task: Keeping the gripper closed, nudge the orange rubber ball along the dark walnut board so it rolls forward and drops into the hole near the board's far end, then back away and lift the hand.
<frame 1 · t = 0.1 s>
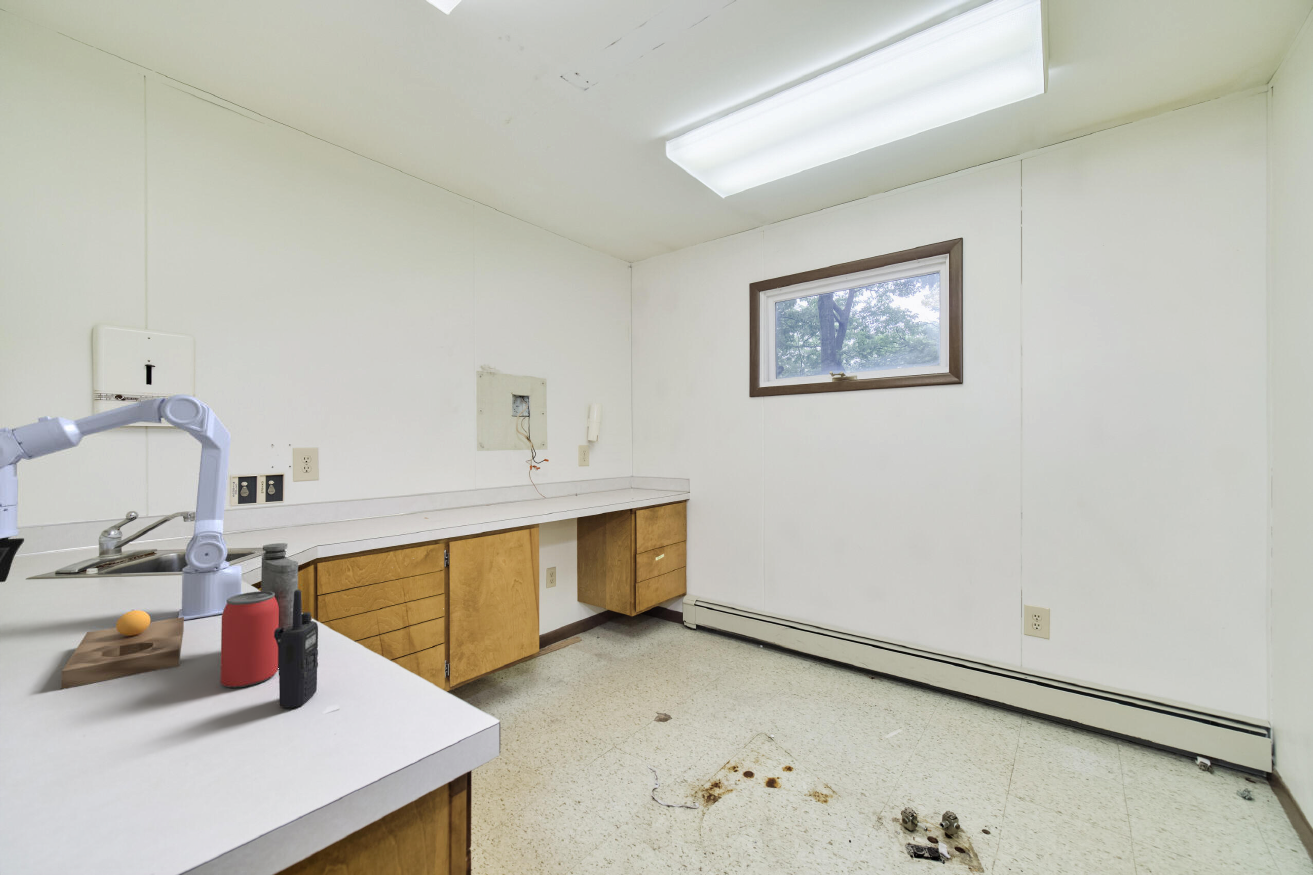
hole board: (130, 655, 83), on the worktop
ball: (133, 622, 86), point 4 cm above the worktop, touching hole board
flask: (275, 656, 84), on the worktop
two-way radio: (293, 702, 69), on the worktop
beer can: (249, 680, 75), on the worktop
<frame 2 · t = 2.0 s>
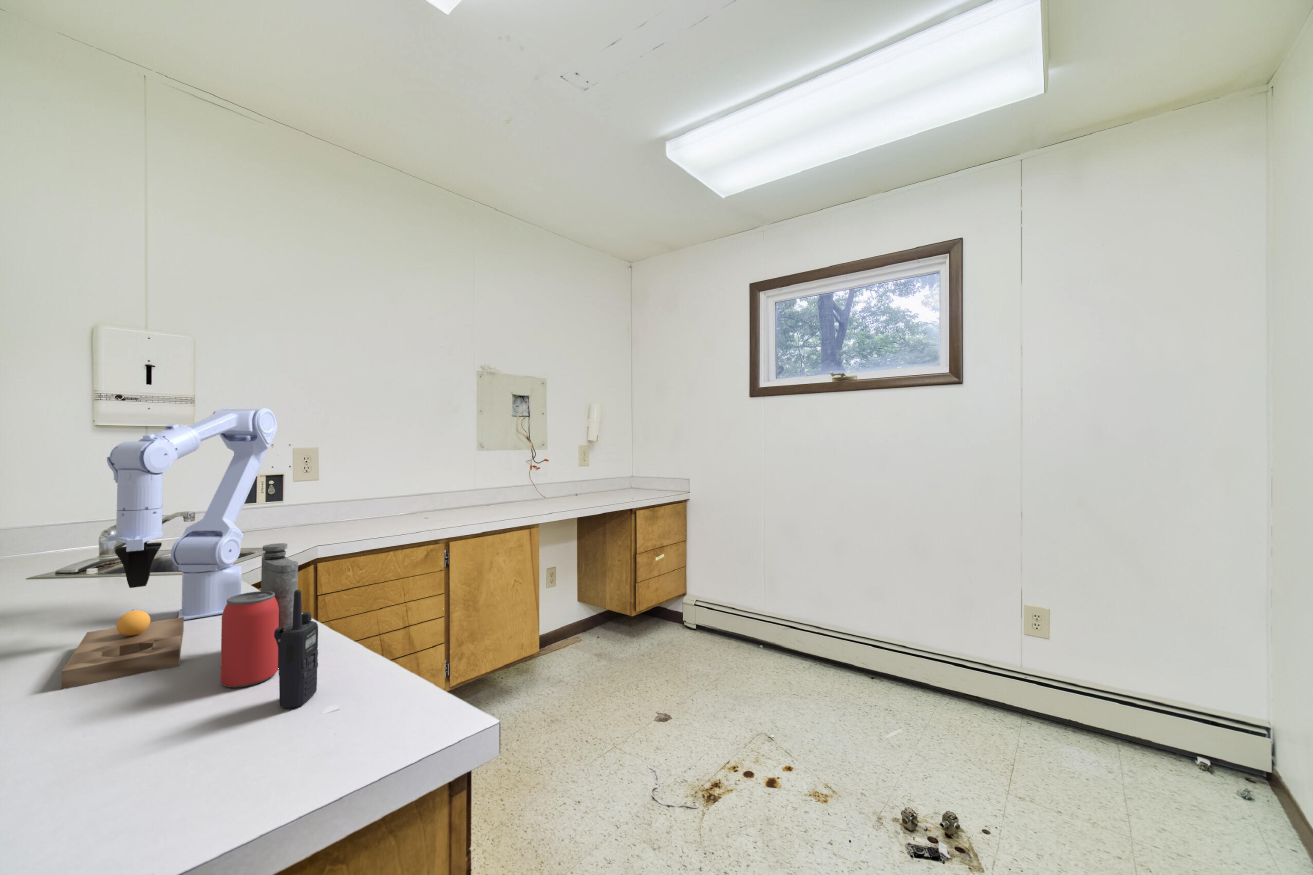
hand: (138, 586, 91), 9 cm above the worktop, tool pointing down, fingers closed
nothing on the worktop moved.
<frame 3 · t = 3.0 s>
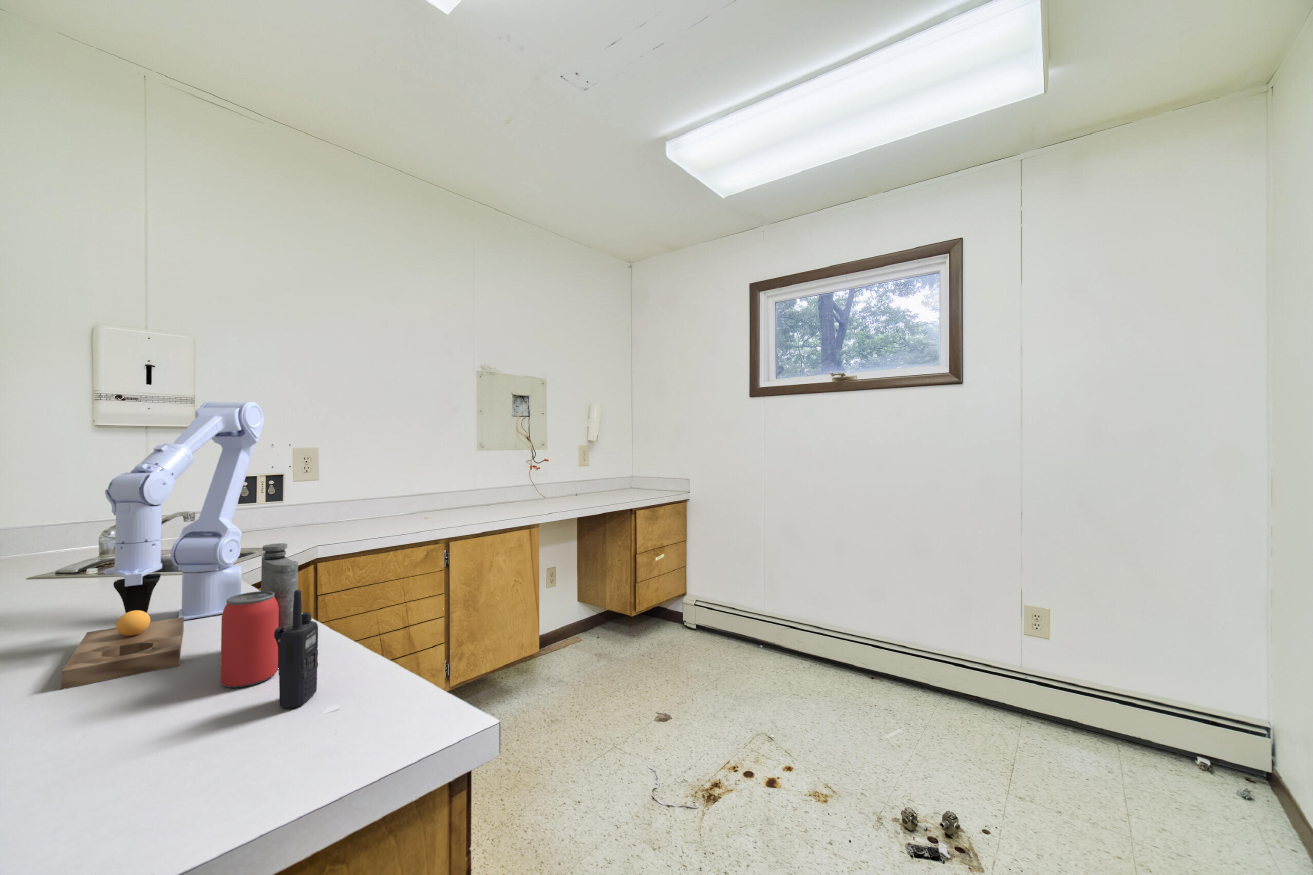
hand: (137, 619, 90), 4 cm above the worktop, tool pointing down, fingers closed
nothing on the worktop moved.
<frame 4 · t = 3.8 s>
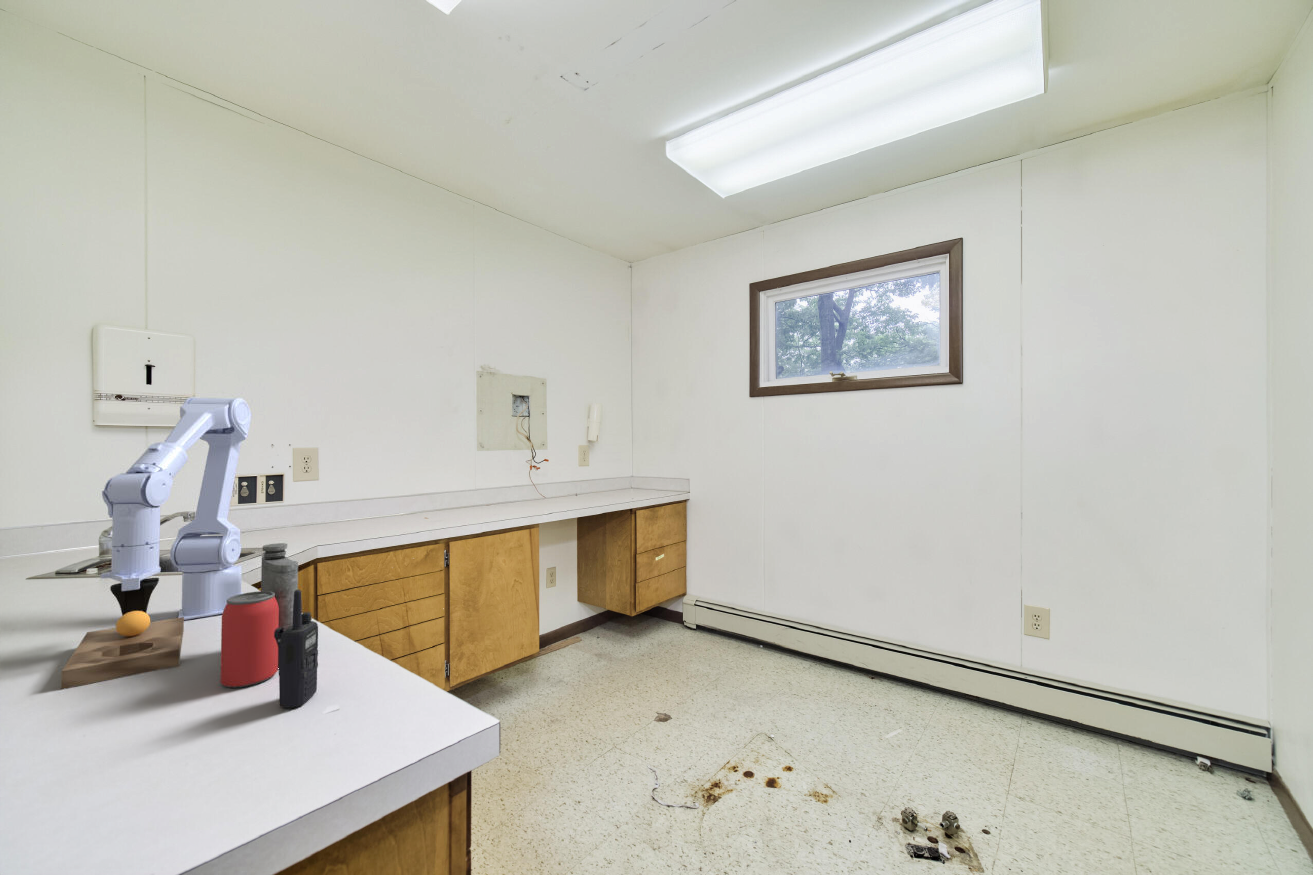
hand: (134, 624, 87), 4 cm above the worktop, tool pointing down, fingers closed, pressing on ball
ball: (133, 623, 85), point 4 cm above the worktop, touching gripper, hole board
everything else where it was.
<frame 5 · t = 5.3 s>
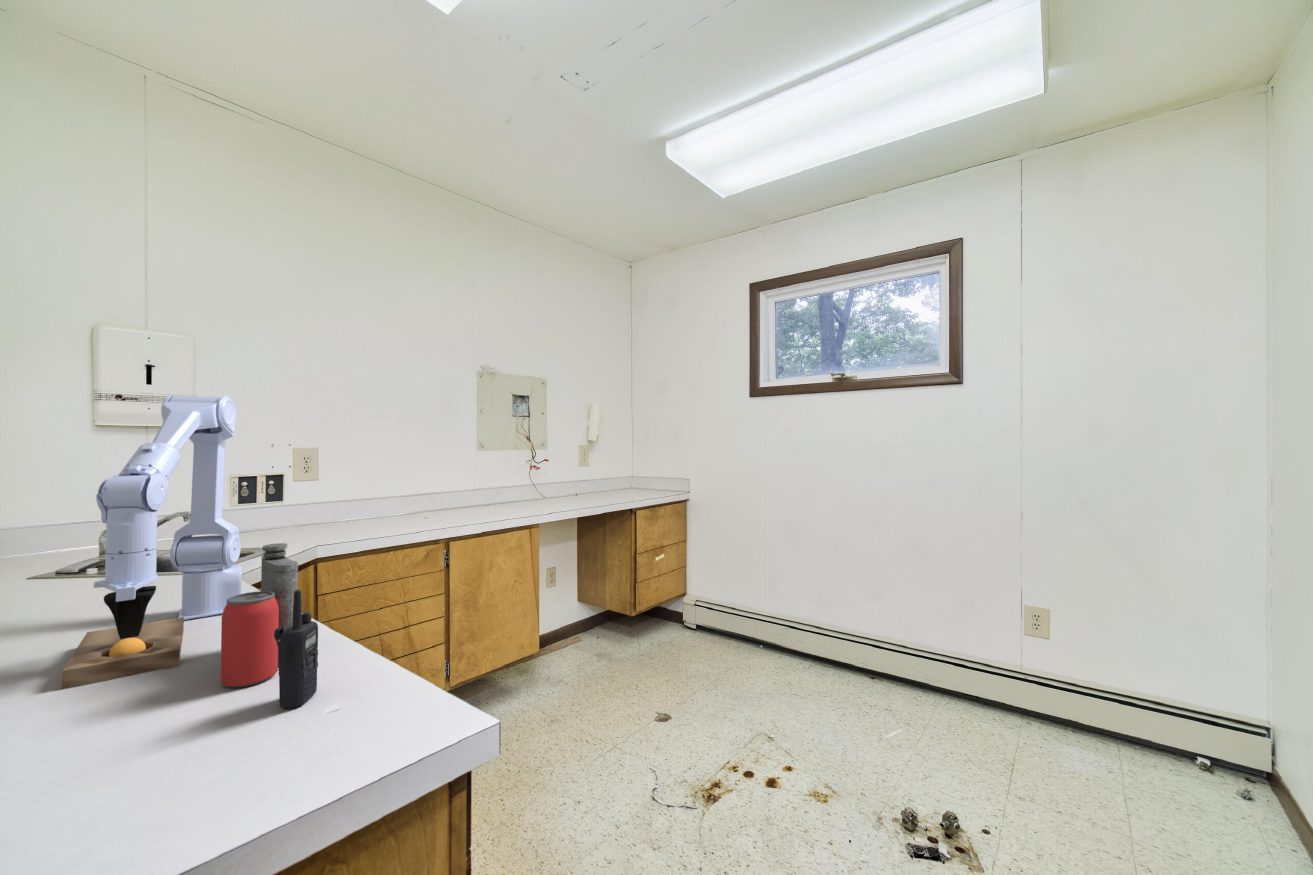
hand: (129, 636, 82), 4 cm above the worktop, tool pointing down, fingers closed
ball: (127, 651, 80), point 2 cm above the worktop, tilted 172°
everything else where it was.
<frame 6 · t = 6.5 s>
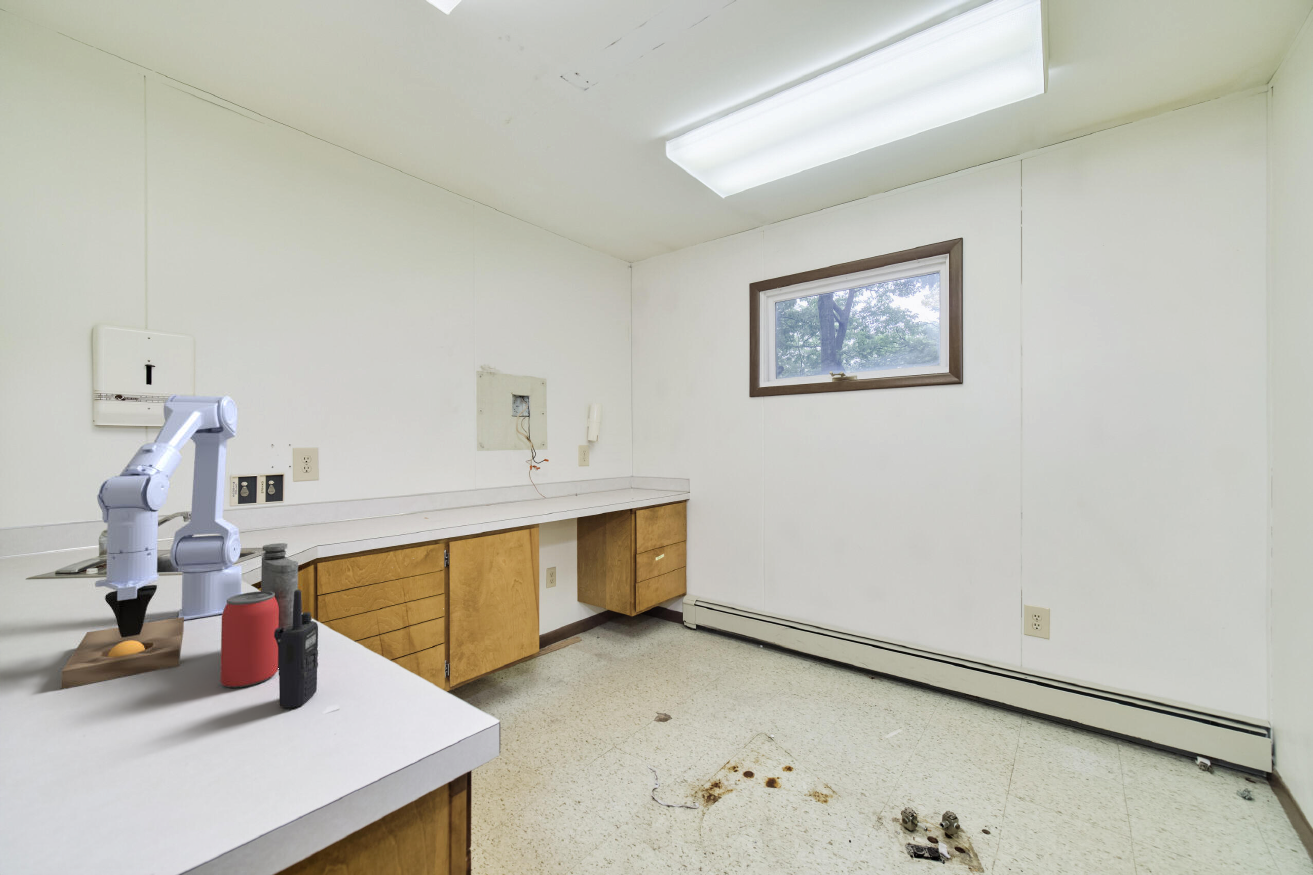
hand: (131, 635, 83), 4 cm above the worktop, tool pointing down, fingers closed
ball: (126, 654, 79), point 2 cm above the worktop, tilted 145°
everything else where it was.
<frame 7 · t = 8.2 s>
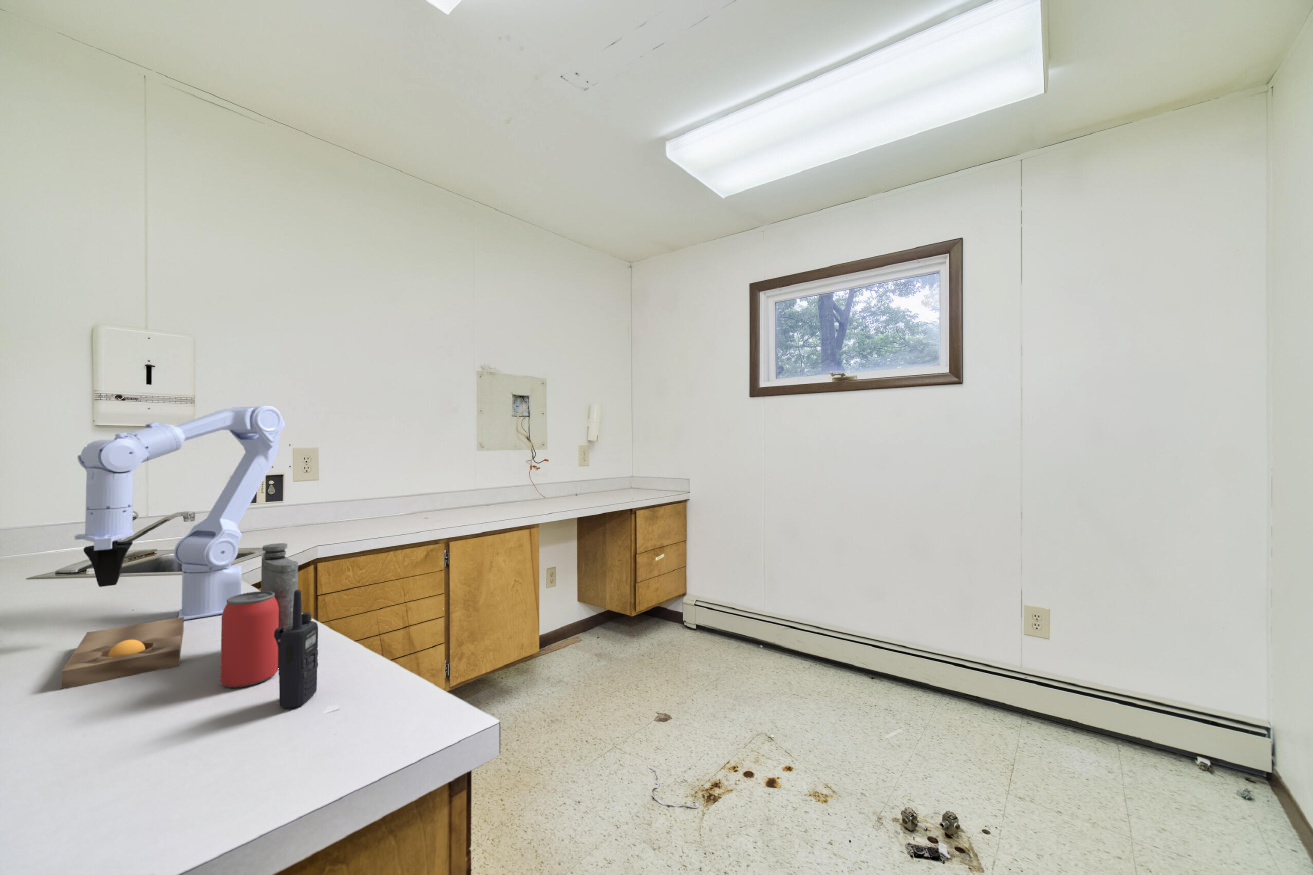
hand: (108, 585, 91), 9 cm above the worktop, tool pointing down, fingers closed
ball: (126, 653, 79), point 2 cm above the worktop, tilted 157°
everything else where it was.
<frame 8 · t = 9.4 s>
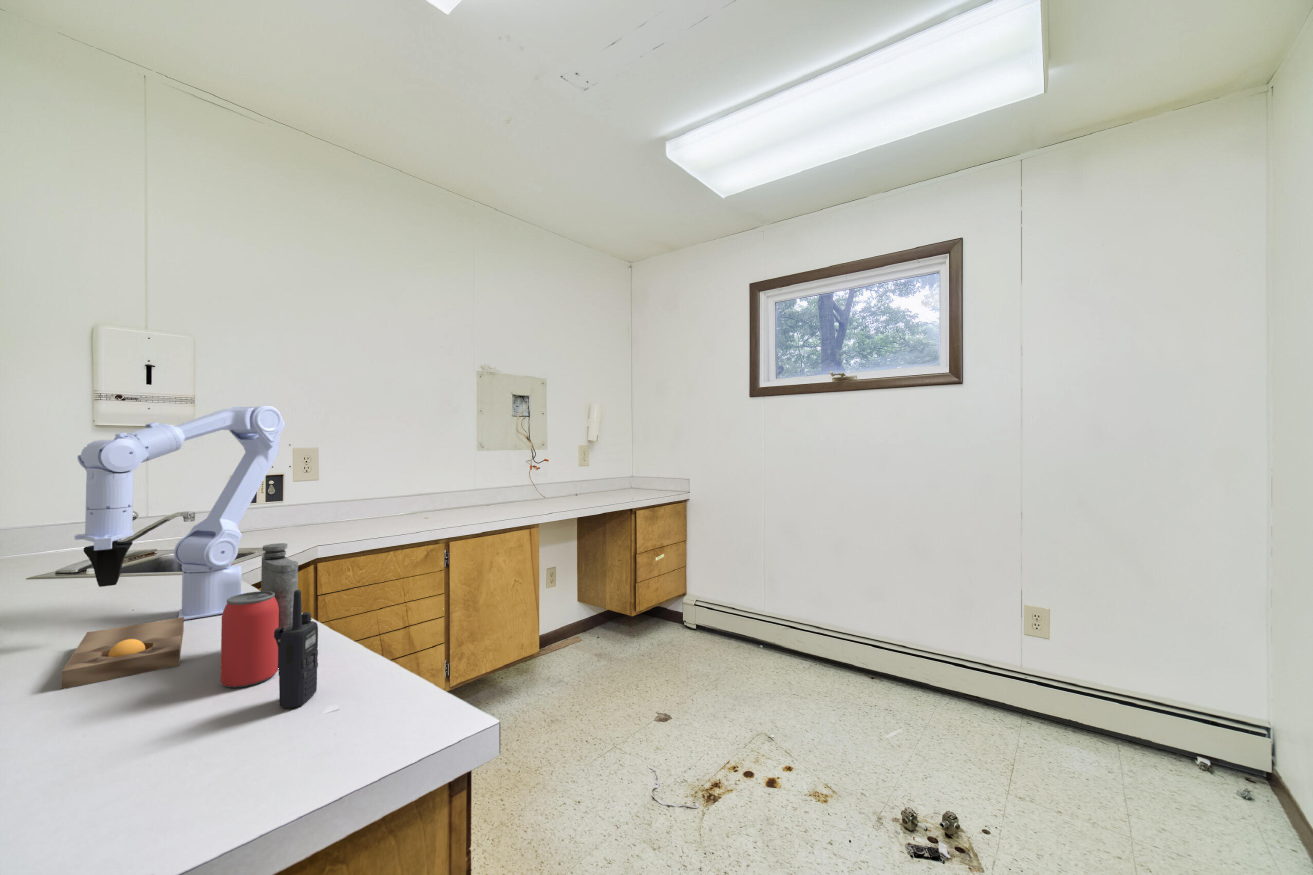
hand: (108, 585, 91), 9 cm above the worktop, tool pointing down, fingers closed
ball: (127, 652, 79), point 2 cm above the worktop, tilted 166°
everything else where it was.
at the end: ball 0.0 cm from the target spot on the hole board, point 2.0 cm above the hole board's base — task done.
